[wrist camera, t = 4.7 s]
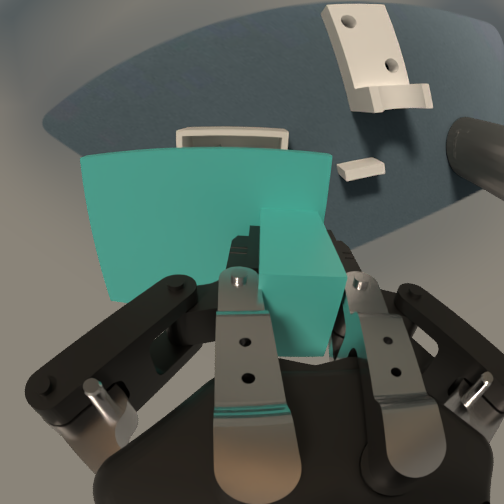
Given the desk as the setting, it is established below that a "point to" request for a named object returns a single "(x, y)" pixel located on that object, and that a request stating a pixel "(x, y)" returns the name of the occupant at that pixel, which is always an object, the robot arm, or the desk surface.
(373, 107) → the bracket
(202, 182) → the lid
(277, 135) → the tub
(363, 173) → the eraser
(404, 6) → the desk surface
